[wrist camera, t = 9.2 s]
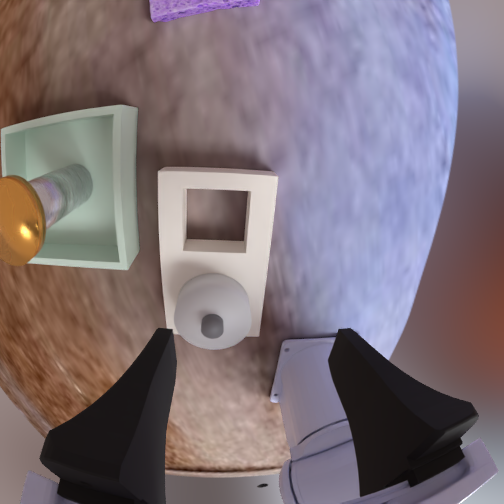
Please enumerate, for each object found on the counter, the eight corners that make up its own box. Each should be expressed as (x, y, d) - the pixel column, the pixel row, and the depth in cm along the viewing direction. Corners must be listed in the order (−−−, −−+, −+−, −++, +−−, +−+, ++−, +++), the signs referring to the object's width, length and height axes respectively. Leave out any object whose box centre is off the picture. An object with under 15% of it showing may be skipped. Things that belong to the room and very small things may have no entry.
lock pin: (103, 214, 17) (46, 268, 10) (55, 215, 17) (-9, 263, 10) (100, 151, 15) (30, 173, 8) (50, 157, 15) (-25, 183, 8)
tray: (139, 250, 19) (127, 270, 16) (36, 246, 18) (17, 262, 15) (138, 107, 15) (122, 104, 12) (25, 125, 14) (1, 128, 11)
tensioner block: (256, 320, 23) (263, 363, 18) (171, 317, 22) (162, 359, 17) (272, 171, 18) (288, 185, 13) (165, 166, 17) (144, 180, 12)
